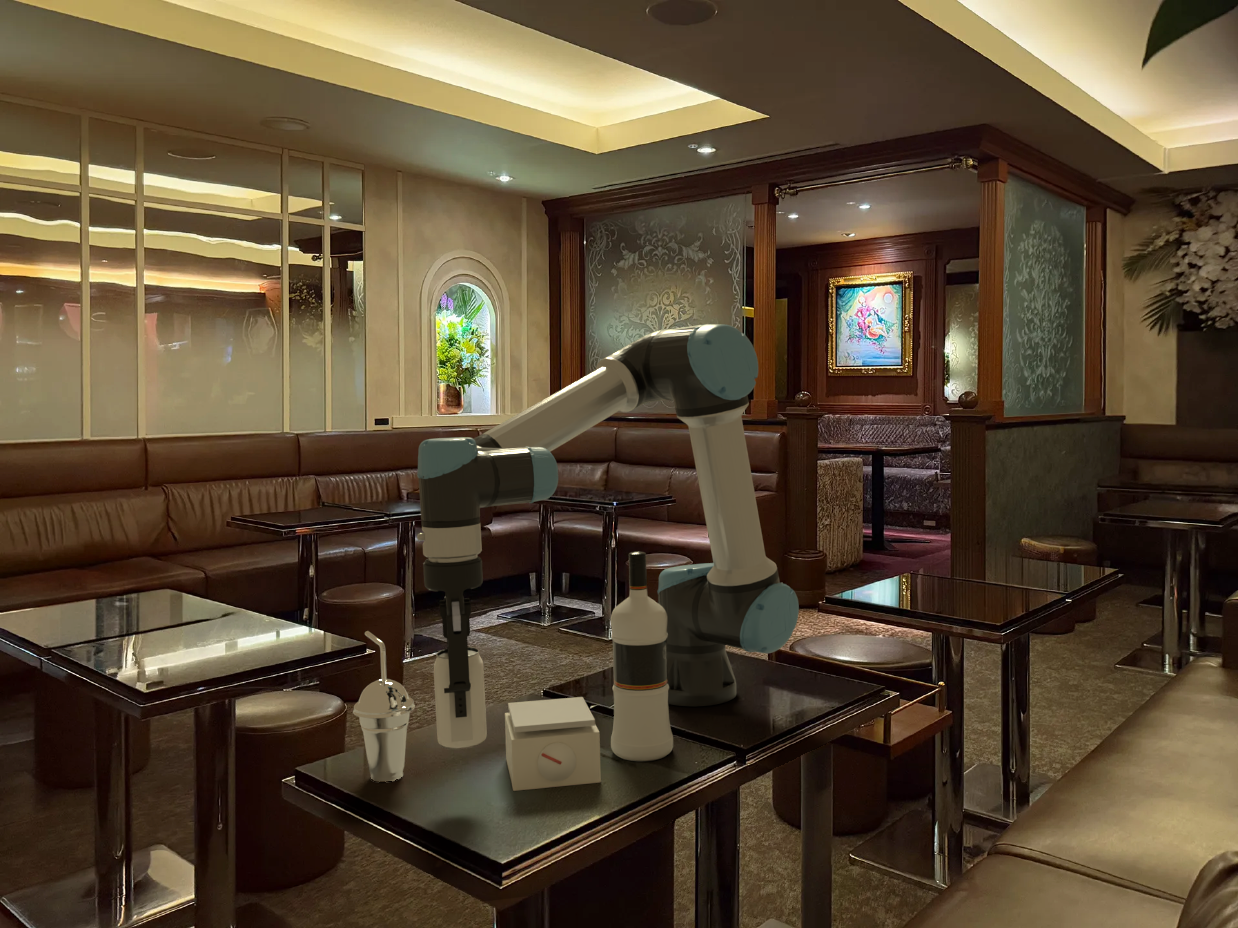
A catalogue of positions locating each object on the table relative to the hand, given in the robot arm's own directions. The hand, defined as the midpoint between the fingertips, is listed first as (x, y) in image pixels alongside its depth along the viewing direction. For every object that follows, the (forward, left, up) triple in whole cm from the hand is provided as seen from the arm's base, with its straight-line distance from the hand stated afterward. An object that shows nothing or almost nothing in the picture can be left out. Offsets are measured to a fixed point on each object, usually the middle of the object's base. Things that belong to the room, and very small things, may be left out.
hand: (461, 732), depth 129 cm
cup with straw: (+10, -12, -9) cm, 18 cm away
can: (0, -1, -2) cm, 2 cm away
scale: (-13, -8, -9) cm, 17 cm away
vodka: (-27, -12, -9) cm, 31 cm away
